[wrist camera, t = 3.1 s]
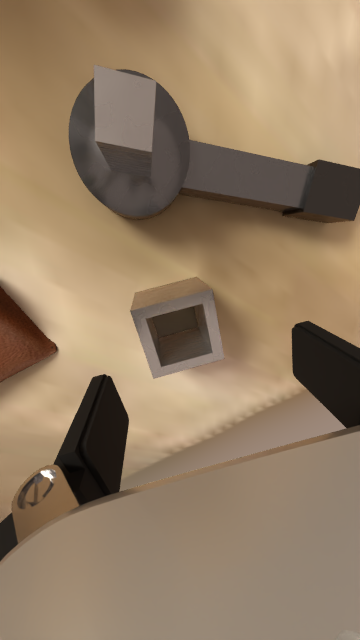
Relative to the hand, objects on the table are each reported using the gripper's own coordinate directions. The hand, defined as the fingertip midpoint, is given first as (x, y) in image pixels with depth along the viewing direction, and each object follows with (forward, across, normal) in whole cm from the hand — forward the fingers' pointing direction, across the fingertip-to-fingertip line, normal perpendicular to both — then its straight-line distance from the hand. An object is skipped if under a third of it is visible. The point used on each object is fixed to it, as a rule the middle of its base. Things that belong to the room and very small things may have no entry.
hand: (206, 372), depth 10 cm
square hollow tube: (+10, +1, 0) cm, 10 cm away
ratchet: (+10, -5, -9) cm, 15 cm away
